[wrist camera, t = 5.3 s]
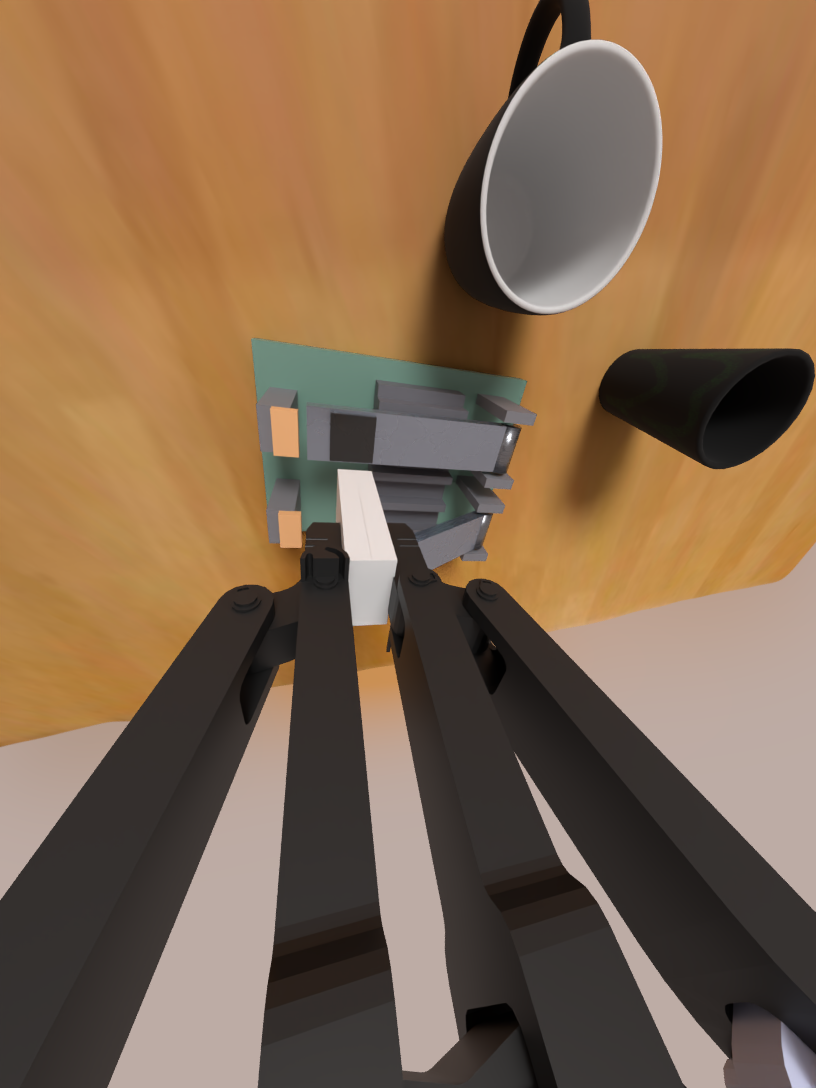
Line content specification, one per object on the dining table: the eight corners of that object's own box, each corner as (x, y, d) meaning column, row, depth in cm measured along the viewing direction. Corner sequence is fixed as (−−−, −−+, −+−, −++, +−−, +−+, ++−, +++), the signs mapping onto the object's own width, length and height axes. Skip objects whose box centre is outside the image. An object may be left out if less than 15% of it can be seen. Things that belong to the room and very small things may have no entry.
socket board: (271, 523, 33) (257, 572, 27) (254, 337, 24) (228, 347, 18) (474, 529, 38) (501, 571, 32) (520, 378, 30) (569, 396, 24)
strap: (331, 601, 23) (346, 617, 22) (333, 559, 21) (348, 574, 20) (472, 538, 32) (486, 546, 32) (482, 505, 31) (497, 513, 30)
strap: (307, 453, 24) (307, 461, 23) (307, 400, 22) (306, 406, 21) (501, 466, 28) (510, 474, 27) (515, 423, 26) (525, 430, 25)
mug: (534, 311, 27) (623, 313, 19) (426, 314, 26) (471, 318, 18) (575, 67, 20) (743, -100, 12) (429, 55, 19) (505, -140, 11)
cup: (573, 412, 32) (675, 456, 23) (622, 322, 29) (770, 330, 19) (630, 432, 35) (743, 479, 25) (682, 352, 31) (839, 371, 21)
